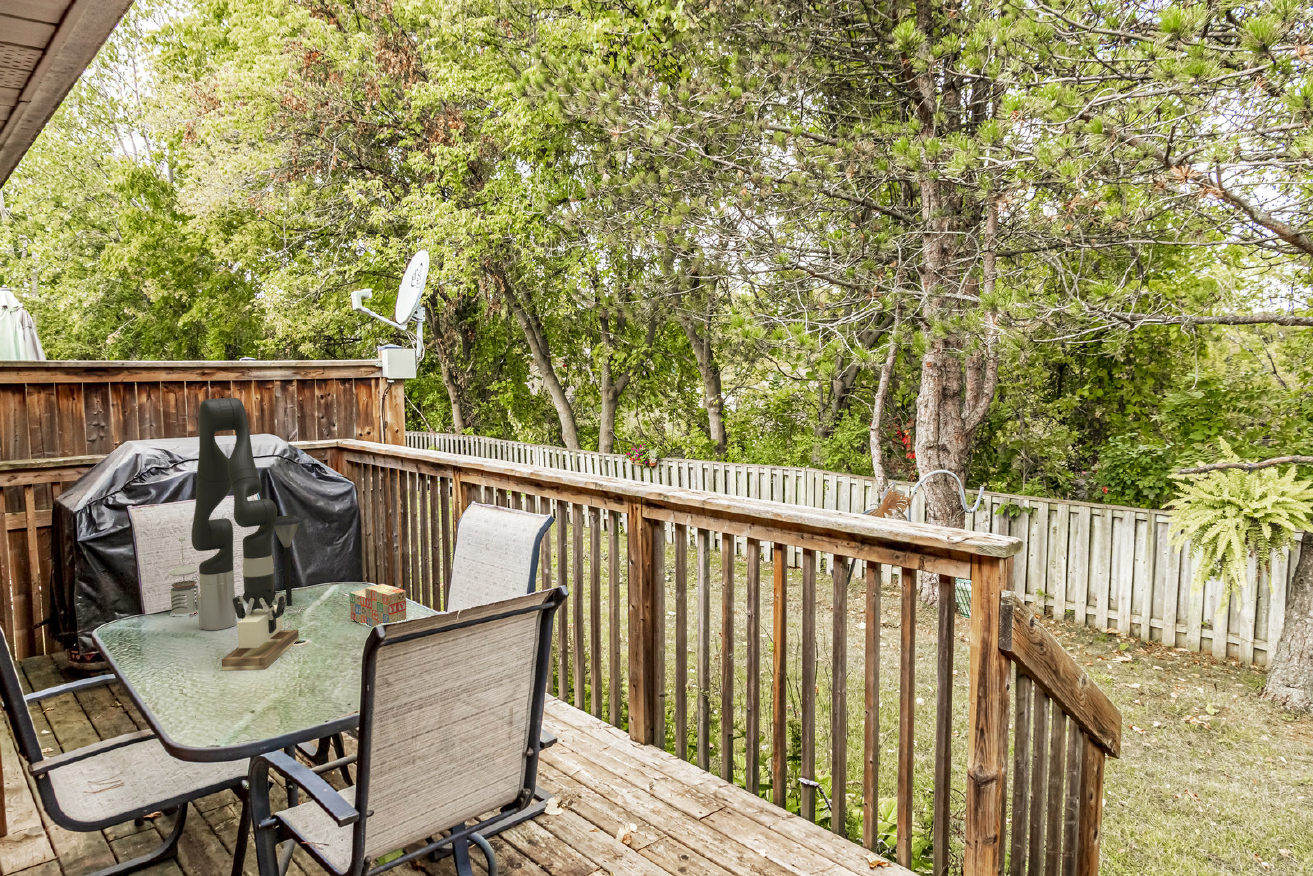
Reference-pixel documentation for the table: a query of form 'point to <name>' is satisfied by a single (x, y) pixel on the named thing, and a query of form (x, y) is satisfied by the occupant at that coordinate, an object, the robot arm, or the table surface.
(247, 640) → the block
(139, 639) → the table surface
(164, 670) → the table surface
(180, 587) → the french press
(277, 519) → the solar garden light
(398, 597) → the stack of blocks
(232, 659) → the wooden serving tray
